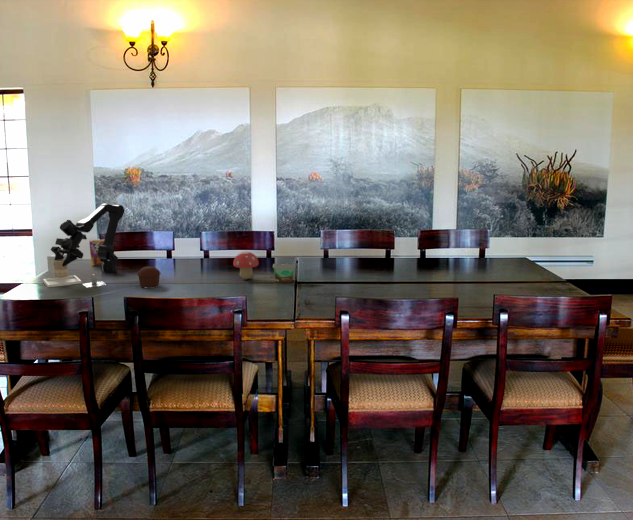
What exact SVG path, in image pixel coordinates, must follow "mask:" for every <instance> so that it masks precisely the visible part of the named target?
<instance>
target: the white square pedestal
mask: <svg viewBox="0 0 633 520" xmlns="http://www.w3.org/2000/svg"><path fill="white" fill-rule="evenodd" d="M90 278H91V282H86V283H82V285H83V287H85V288H92V287H93V288H94V287H101V286H107V284H106V282H104V281H102V280H100V281H98V280H97V274H95V273H93V274H91V276H90Z"/></svg>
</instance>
